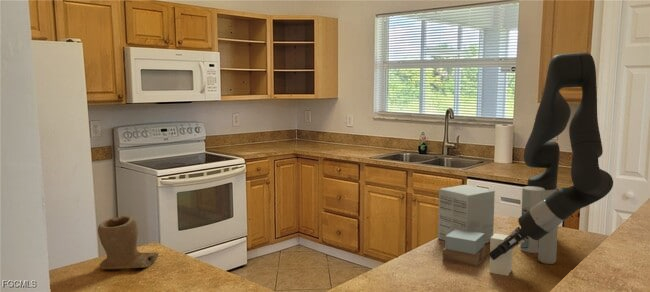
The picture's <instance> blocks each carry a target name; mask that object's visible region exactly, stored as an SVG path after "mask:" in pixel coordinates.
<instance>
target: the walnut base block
mask: <svg viewBox="0 0 650 292" xmlns="http://www.w3.org/2000/svg"><path fill="white" fill-rule="evenodd" d="M486 249H487V248H486V245H484V247H483V248H482V249H481V250H479V251H478V252H477V253H476V254H470V253H464V252H459V251H453V250H448V249H445V247H444V248H443V249H442V262H444V263H452V264H456V265H462V266H468V267H472V268H477V267H478V266H479V265H480V264H481V263H482V262H483V261H484V260H485V258H486ZM481 261H482V262H481Z"/></svg>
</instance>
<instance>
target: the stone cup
mask: <svg viewBox="0 0 650 292" xmlns="http://www.w3.org/2000/svg"><path fill="white" fill-rule="evenodd" d="M138 231H139V230H138V224H137V221H136V220H135V219H134V217H133V216H130V215H121V216H120V217H110V218H108V219H106V220H104V221H102V222H101V223H100V224H99V225H98V227H97V234H98V238H99V240H100V241H99V242H100V244H101V246H102V247H103V249H104V251H105V254H106V258H104V259H103V260H102V261H101V262H100V263H99V268H100V269H102V270H128V269H129V270H130V269H140V268H148V267H150V266H152V265H153V264H154V263H155V262H156V261H157V260H158V258H159V253H158V252H140V251H138V248H137V246H138V245H137V243H138V237H139V235H138V233H139V232H138Z"/></svg>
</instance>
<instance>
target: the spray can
mask: <svg viewBox="0 0 650 292" xmlns="http://www.w3.org/2000/svg"><path fill="white" fill-rule="evenodd" d="M521 193H522V194H521V216H522V215H523V214H524V213H526V212H527V211H528V210H530V209H531V208H532V207H534V206H535V205H536V204H538V203H539V202H541V201H543V200H544V197H545V189H544V188H541V187H534V186H527V185H526V186H522V190H521ZM527 237H528V239H527V240H526V241H525V242H523V243H522V244H520V246H519V247H520V250H521V251H522V252H525V253H529V254H539V240H533V239H532V238H531V237H529V236H527Z"/></svg>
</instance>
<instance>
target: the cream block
mask: <svg viewBox="0 0 650 292" xmlns="http://www.w3.org/2000/svg"><path fill="white" fill-rule="evenodd" d="M509 235H510V234H509ZM509 235H508V234H501V233H493V236H492V237H491V240H490V242H489V243H490V245H489V249H490V250H489V253H490V252H491V251H493V250H494V249H495V248H497V247H498V245H499V244H501V243H503V242H504V239H505V238H506V237H507V236H509ZM509 238H510V237H509ZM503 247H504V248H505V249H507V247H506V246H505V245H503ZM513 250H514V249H510V250H508V251H507V252H506V253H504V254H502V255H500V256H499V257H498V258H496V259H495V260H493V259H492V258H491V257H490V256H489V271H488V272H489V273H490V274H496V275H502V276H505V277H506V276H507V277H508V276H509V275H510V273H511V272H512V271H513Z"/></svg>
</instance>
